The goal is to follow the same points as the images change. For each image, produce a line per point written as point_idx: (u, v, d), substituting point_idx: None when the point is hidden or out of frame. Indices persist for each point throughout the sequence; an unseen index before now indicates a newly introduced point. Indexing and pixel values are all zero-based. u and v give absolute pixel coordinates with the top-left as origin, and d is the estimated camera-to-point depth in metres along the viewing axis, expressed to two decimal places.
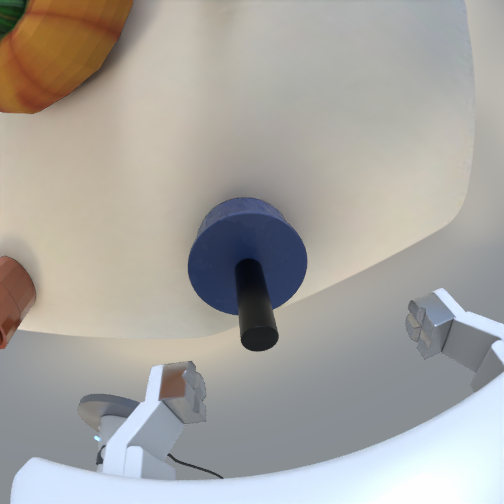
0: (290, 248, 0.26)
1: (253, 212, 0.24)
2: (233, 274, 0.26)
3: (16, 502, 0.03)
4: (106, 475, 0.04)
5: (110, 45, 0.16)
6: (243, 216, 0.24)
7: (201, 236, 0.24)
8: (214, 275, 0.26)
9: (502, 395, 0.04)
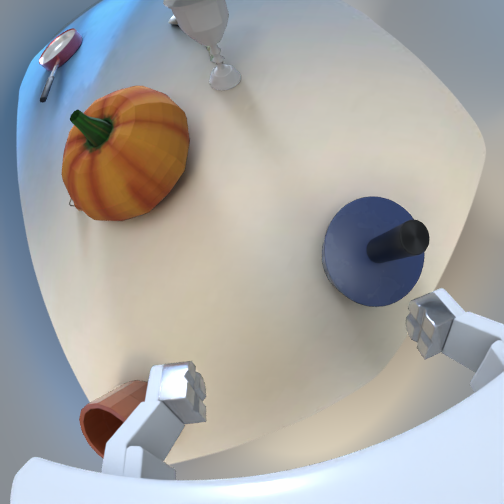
0: (395, 214, 0.26)
1: (352, 201, 0.27)
2: (368, 260, 0.26)
3: (16, 502, 0.03)
4: (106, 475, 0.04)
5: (187, 147, 0.32)
6: (348, 207, 0.27)
7: (326, 239, 0.27)
8: (354, 270, 0.26)
9: (502, 395, 0.04)
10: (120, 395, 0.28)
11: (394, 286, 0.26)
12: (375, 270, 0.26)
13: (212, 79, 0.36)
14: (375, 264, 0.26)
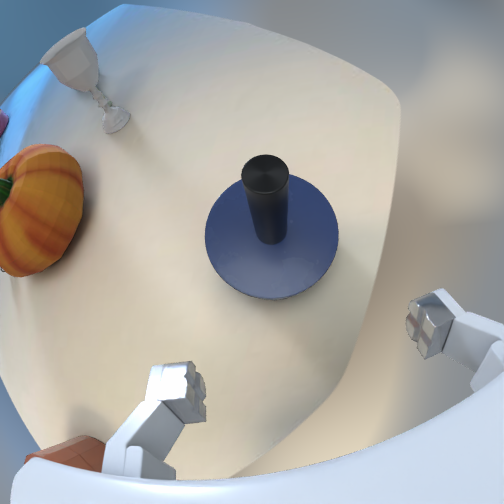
0: None
1: (230, 187, 0.25)
2: (262, 244, 0.23)
3: (16, 502, 0.03)
4: (106, 475, 0.04)
5: (78, 189, 0.29)
6: (225, 194, 0.25)
7: (206, 234, 0.24)
8: (247, 260, 0.23)
9: (502, 395, 0.04)
10: (57, 448, 0.19)
11: (305, 266, 0.22)
12: (273, 253, 0.23)
13: (103, 124, 0.36)
14: (272, 246, 0.23)
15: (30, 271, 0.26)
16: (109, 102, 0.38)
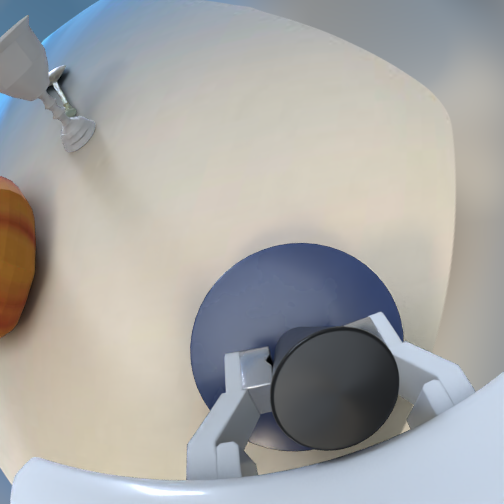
0: (323, 269, 0.14)
1: (230, 269, 0.15)
2: None
3: (16, 502, 0.03)
4: (106, 475, 0.04)
5: (24, 240, 0.19)
6: (221, 283, 0.14)
7: (193, 355, 0.14)
8: None
9: (502, 395, 0.04)
10: None
11: None
12: None
13: (62, 140, 0.26)
14: None
15: None
16: (72, 110, 0.27)
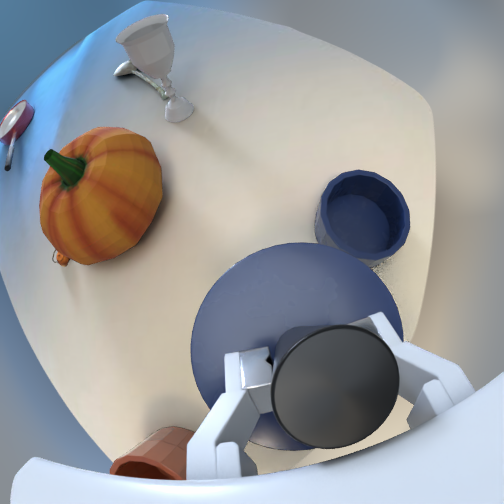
0: (323, 268, 0.14)
1: None
2: None
3: (15, 502, 0.03)
4: (106, 475, 0.04)
5: (160, 173, 0.33)
6: (221, 283, 0.14)
7: (193, 354, 0.14)
8: None
9: (502, 395, 0.04)
10: (150, 443, 0.22)
11: None
12: None
13: (168, 113, 0.39)
14: None
15: (106, 256, 0.30)
16: None
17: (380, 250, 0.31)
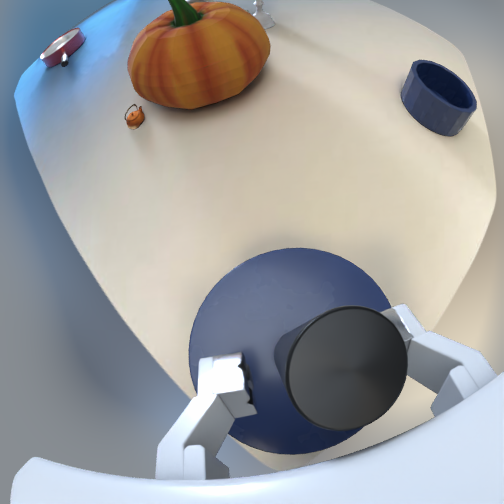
0: (321, 272, 0.15)
1: (229, 272, 0.15)
2: None
3: (16, 502, 0.03)
4: (106, 475, 0.04)
5: None
6: (220, 287, 0.15)
7: (191, 357, 0.13)
8: (259, 403, 0.12)
9: (502, 395, 0.04)
10: None
11: None
12: None
13: None
14: None
15: (214, 88, 0.27)
16: (247, 11, 0.38)
17: None
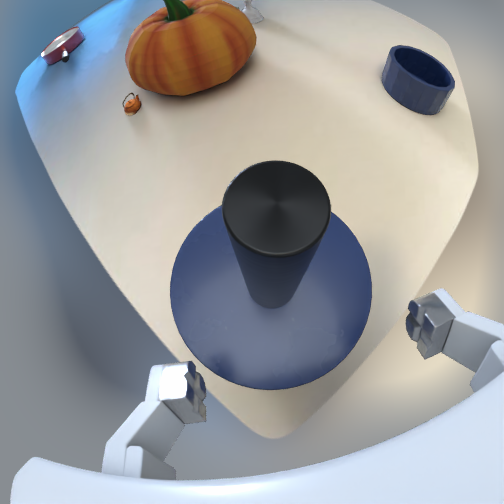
0: None
1: None
2: (258, 307, 0.15)
3: (15, 502, 0.03)
4: (106, 475, 0.04)
5: None
6: (200, 226, 0.16)
7: (172, 289, 0.15)
8: (234, 332, 0.14)
9: (502, 395, 0.04)
10: None
11: (324, 340, 0.14)
12: (276, 322, 0.14)
13: None
14: (274, 310, 0.14)
15: (204, 74, 0.28)
16: (237, 8, 0.39)
17: None
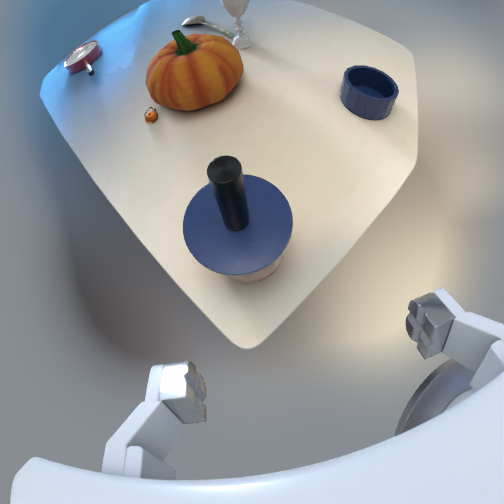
0: (249, 184, 0.30)
1: (205, 186, 0.30)
2: (228, 231, 0.28)
3: (15, 502, 0.03)
4: (106, 475, 0.04)
5: None
6: (200, 192, 0.30)
7: (184, 224, 0.29)
8: (216, 244, 0.28)
9: (502, 395, 0.04)
10: None
11: (263, 248, 0.27)
12: (237, 238, 0.28)
13: (235, 42, 0.51)
14: (237, 232, 0.28)
15: (204, 97, 0.42)
16: (232, 33, 0.53)
17: None
